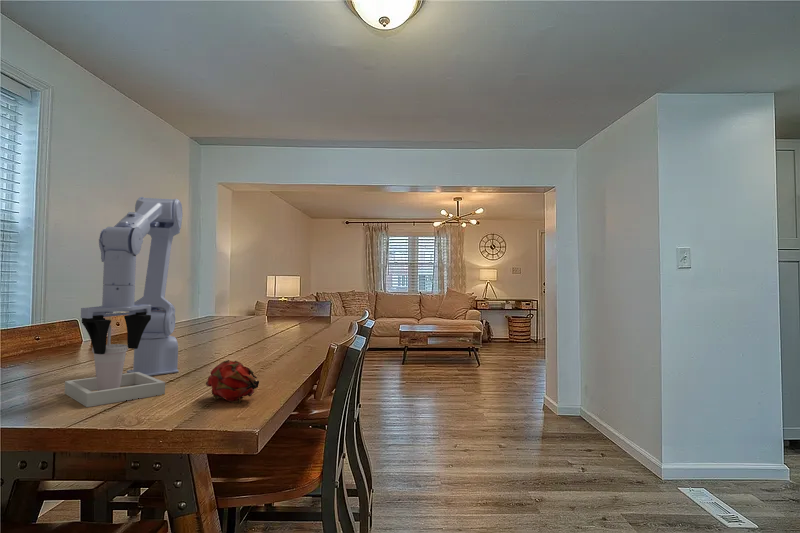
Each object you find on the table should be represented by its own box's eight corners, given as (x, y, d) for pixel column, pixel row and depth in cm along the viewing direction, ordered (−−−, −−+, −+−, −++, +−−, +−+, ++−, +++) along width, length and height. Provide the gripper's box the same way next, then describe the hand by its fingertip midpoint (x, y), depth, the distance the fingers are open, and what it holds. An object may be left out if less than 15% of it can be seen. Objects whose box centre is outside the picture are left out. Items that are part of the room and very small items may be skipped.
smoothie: (82, 397, 95) (85, 326, 95) (101, 389, 101) (104, 323, 101) (115, 397, 95) (118, 327, 95) (132, 390, 101) (135, 324, 101)
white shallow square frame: (138, 382, 107) (138, 371, 108) (164, 394, 98) (165, 382, 98) (64, 393, 97) (65, 381, 97) (86, 407, 88) (87, 393, 88)
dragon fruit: (213, 401, 100) (252, 419, 94) (187, 383, 94) (226, 402, 88) (237, 365, 104) (276, 381, 98) (213, 346, 98) (253, 362, 91)
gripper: (135, 284, 106) (132, 344, 106) (70, 284, 93) (68, 354, 92) (159, 285, 104) (157, 347, 104) (96, 285, 90) (94, 357, 90)
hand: (116, 351), depth 98 cm, fingers open, 7 cm apart
